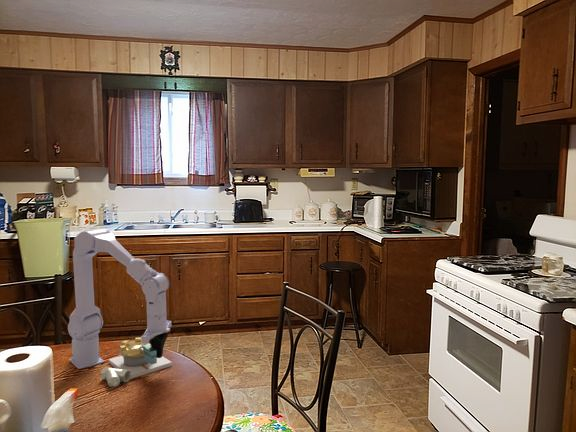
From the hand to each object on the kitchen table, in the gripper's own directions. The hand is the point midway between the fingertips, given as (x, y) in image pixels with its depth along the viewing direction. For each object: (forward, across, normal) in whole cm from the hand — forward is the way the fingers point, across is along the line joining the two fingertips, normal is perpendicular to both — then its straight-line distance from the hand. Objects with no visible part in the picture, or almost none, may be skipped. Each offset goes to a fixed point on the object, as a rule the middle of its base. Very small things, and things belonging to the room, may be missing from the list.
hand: (158, 357), depth 139 cm
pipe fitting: (+5, -9, +10) cm, 14 cm away
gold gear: (0, +1, +6) cm, 6 cm away
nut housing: (+5, +3, +10) cm, 11 cm away
